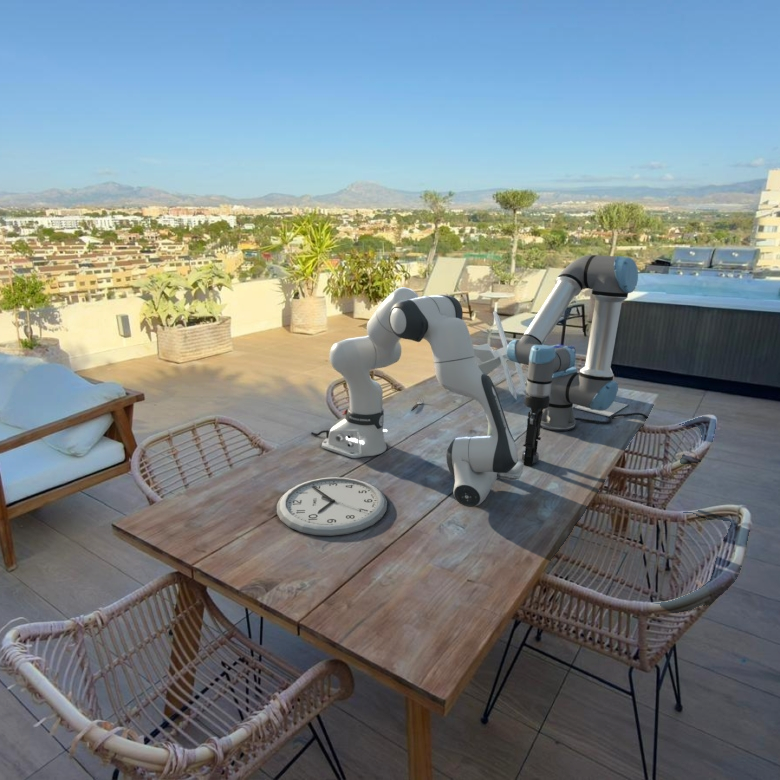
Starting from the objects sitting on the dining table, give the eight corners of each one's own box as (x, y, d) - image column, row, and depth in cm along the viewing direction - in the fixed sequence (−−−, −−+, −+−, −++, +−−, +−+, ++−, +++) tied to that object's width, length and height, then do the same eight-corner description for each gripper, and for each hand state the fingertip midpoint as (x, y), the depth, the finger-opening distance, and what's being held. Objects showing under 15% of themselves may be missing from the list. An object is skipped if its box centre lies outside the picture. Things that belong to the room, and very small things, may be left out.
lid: (539, 458, 173) (540, 451, 172) (536, 464, 168) (537, 457, 168) (523, 455, 175) (524, 448, 174) (520, 461, 170) (521, 454, 170)
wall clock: (392, 527, 129) (268, 531, 127) (391, 533, 130) (269, 537, 127) (383, 473, 158) (282, 475, 155) (383, 478, 158) (282, 480, 156)
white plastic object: (461, 429, 252) (437, 405, 227) (444, 352, 274) (420, 323, 250) (535, 404, 240) (518, 377, 215) (510, 326, 262) (492, 293, 237)
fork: (408, 411, 216) (408, 407, 215) (419, 400, 230) (419, 396, 229) (414, 412, 215) (414, 407, 214) (425, 401, 229) (425, 396, 229)
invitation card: (608, 416, 214) (573, 407, 224) (608, 416, 214) (573, 408, 224) (628, 404, 229) (594, 396, 238) (628, 405, 229) (594, 397, 238)
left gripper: (519, 469, 145) (528, 451, 157) (449, 455, 153) (463, 439, 165) (517, 489, 147) (526, 470, 159) (448, 475, 155) (461, 457, 167)
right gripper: (531, 385, 175) (524, 449, 181) (519, 400, 159) (512, 469, 165) (554, 388, 172) (546, 454, 178) (545, 404, 156) (536, 474, 162)
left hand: (493, 454), depth 162 cm, fingers closed on jar, 4 cm apart
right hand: (529, 461), depth 172 cm, fingers open, 5 cm apart
